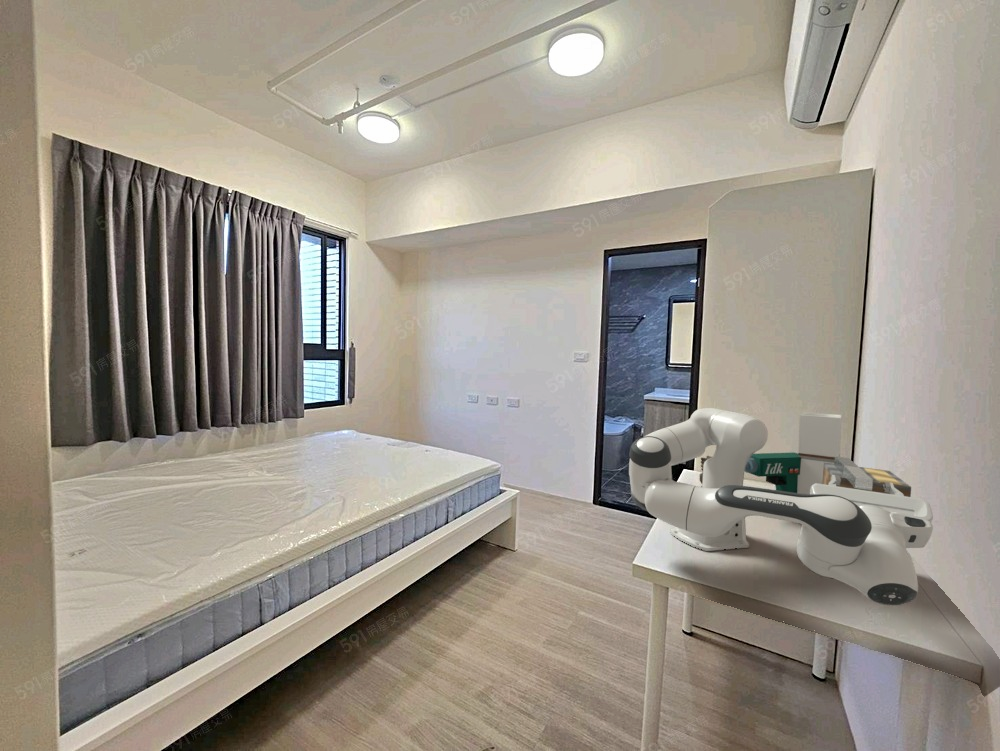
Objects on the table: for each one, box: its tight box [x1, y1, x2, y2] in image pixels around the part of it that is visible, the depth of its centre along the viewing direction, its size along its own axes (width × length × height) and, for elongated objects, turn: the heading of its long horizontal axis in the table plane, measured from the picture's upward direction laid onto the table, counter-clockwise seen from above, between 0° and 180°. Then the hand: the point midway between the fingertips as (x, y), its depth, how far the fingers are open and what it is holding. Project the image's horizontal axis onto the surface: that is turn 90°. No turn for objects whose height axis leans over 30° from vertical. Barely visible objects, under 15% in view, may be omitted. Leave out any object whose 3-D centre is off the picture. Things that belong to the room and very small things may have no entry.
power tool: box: [744, 451, 801, 493], centre depth 149 cm, size 32×7×20 cm, turn 102°
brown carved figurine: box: [699, 455, 713, 485], centre depth 167 cm, size 6×6×15 cm
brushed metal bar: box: [834, 456, 873, 490], centre depth 104 cm, size 23×3×2 cm, turn 150°
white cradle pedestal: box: [797, 411, 842, 494], centre depth 149 cm, size 11×11×35 cm
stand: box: [822, 463, 912, 497], centre depth 108 cm, size 16×14×26 cm
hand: (860, 480), depth 97 cm, fingers open, 8 cm apart
